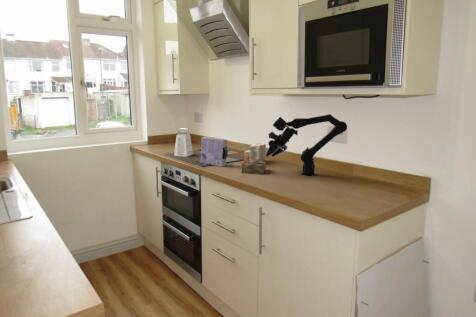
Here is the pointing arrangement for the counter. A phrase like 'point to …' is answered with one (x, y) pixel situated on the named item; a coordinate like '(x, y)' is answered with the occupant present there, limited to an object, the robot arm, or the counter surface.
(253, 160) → the mottled grey cylinder
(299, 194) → the counter surface
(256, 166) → the groove block
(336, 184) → the counter surface
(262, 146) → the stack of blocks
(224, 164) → the cake pan box
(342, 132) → the robot arm
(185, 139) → the grater
